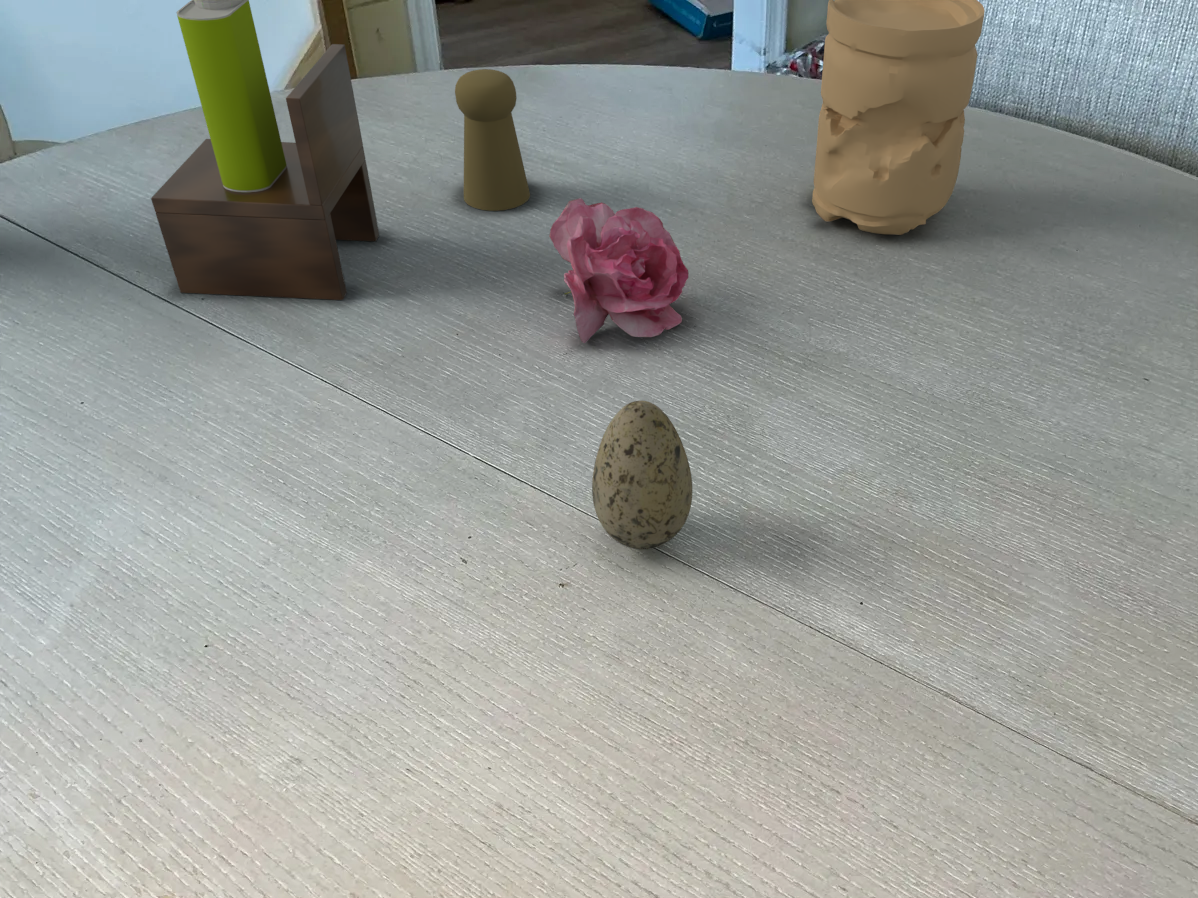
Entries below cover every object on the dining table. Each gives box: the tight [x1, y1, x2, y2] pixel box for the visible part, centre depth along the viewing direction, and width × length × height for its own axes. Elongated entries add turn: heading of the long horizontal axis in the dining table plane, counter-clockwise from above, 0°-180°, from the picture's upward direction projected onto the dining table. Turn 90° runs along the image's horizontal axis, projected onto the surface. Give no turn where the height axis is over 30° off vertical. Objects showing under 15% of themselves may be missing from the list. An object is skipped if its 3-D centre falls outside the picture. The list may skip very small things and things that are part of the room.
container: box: [811, 0, 985, 236], centre depth 101 cm, size 13×13×18 cm
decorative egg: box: [591, 400, 693, 550], centre depth 69 cm, size 6×6×10 cm
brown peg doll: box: [454, 68, 531, 212], centre depth 104 cm, size 6×6×11 cm
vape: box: [176, 0, 287, 192], centre depth 85 cm, size 4×6×20 cm, turn 176°
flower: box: [548, 197, 690, 344], centre depth 90 cm, size 11×10×10 cm
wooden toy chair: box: [150, 43, 380, 301], centre depth 92 cm, size 13×11×16 cm
